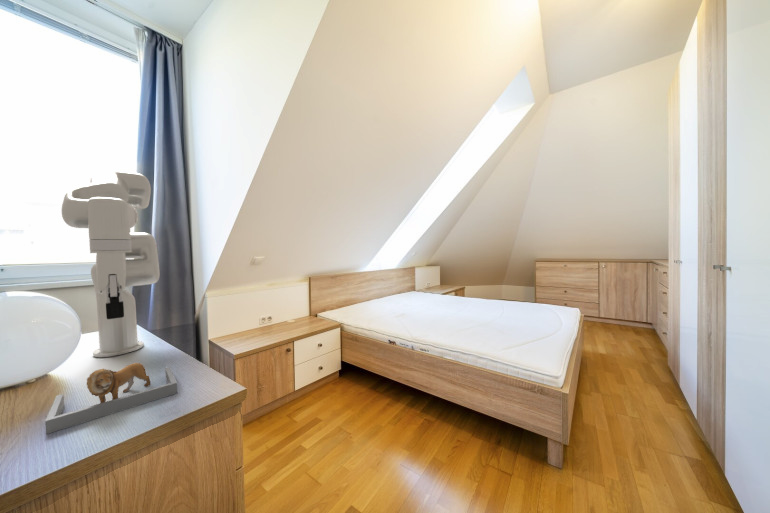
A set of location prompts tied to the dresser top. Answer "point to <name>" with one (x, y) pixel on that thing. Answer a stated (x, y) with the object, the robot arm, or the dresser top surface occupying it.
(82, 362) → the dresser top surface
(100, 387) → the lion figurine
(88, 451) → the dresser top surface
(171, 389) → the box
